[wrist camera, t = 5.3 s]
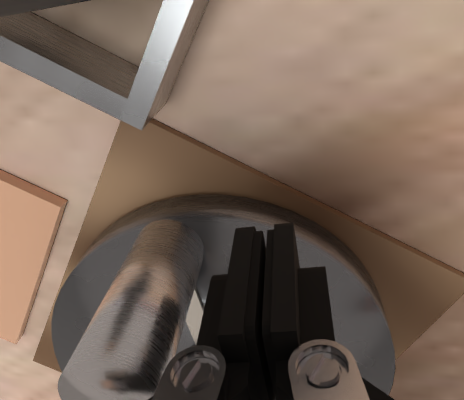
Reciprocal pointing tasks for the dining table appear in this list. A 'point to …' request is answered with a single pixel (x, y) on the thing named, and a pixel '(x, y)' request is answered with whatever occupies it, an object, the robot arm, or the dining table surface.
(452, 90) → the dining table surface
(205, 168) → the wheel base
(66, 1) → the bottle
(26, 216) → the pad
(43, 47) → the collar
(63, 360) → the handwheel
